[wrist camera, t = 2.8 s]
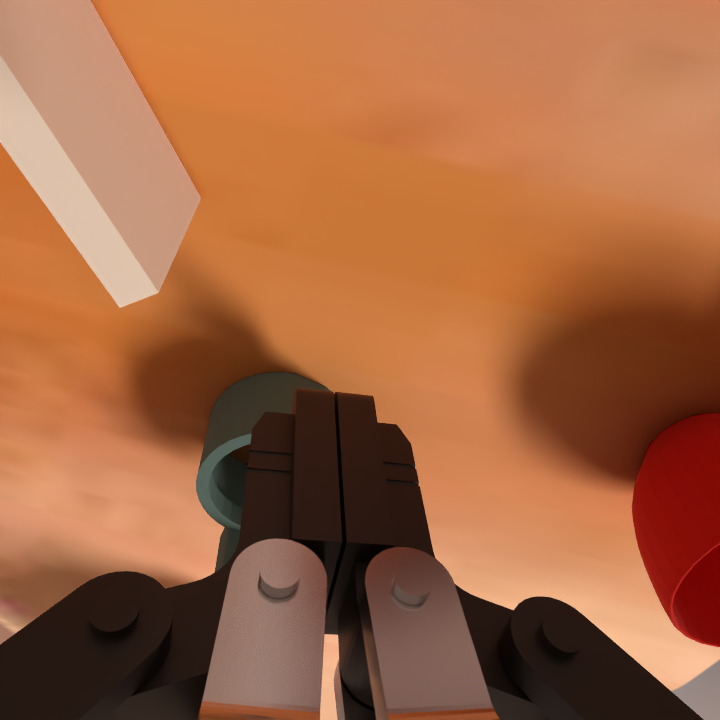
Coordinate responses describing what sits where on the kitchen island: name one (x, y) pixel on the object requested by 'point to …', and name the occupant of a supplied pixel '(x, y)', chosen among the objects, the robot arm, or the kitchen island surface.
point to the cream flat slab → (91, 144)
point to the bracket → (231, 431)
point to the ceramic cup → (683, 524)
